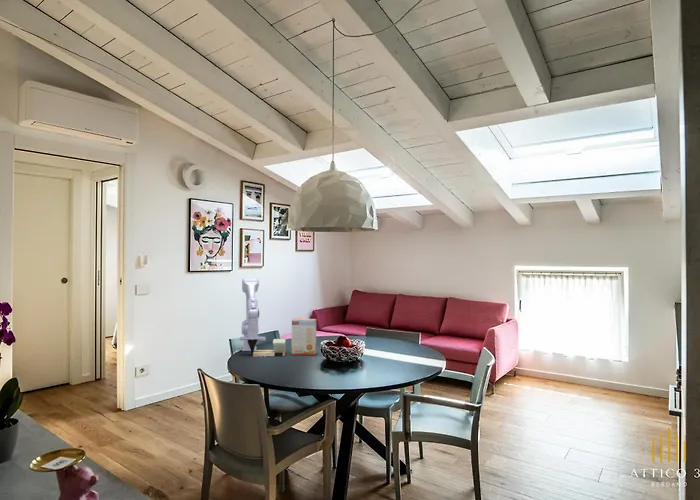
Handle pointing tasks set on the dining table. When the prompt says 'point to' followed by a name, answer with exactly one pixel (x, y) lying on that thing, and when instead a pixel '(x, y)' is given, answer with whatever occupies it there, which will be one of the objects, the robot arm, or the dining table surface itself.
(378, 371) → the dining table surface
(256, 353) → the panel
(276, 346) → the overhang
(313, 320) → the cracker box
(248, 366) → the dining table surface
